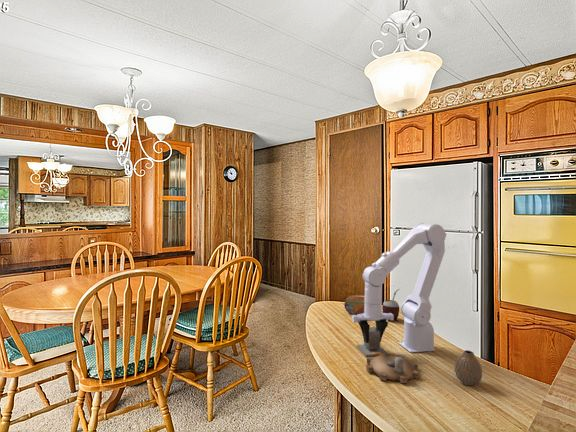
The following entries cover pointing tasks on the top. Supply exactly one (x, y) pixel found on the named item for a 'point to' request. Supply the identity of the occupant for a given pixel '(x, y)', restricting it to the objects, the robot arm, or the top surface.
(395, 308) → the mate gourd
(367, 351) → the mat
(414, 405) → the top surface
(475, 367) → the vase
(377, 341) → the link block
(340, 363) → the top surface
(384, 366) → the sprocket wheel
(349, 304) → the tin
